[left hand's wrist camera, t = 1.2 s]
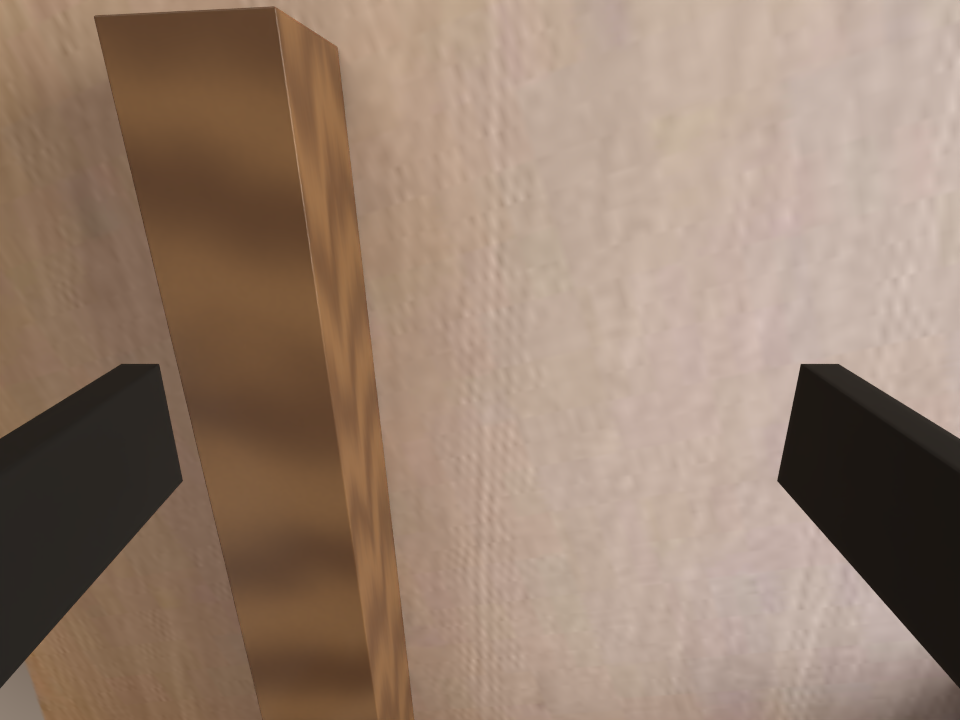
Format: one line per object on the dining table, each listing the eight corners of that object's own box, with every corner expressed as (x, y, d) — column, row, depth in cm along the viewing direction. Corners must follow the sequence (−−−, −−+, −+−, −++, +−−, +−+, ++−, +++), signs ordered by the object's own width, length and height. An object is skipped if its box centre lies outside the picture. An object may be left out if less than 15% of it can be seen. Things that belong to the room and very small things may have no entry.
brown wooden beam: (209, 52, 27) (92, 15, 19) (337, 46, 27) (275, 6, 19) (351, 828, 46) (323, 975, 38) (426, 826, 46) (414, 973, 38)
